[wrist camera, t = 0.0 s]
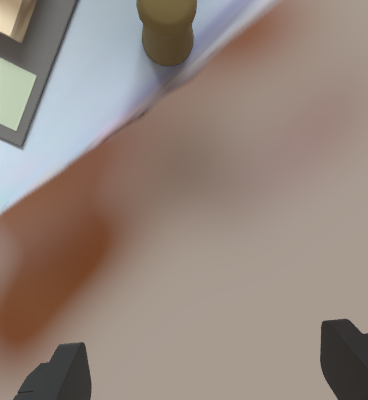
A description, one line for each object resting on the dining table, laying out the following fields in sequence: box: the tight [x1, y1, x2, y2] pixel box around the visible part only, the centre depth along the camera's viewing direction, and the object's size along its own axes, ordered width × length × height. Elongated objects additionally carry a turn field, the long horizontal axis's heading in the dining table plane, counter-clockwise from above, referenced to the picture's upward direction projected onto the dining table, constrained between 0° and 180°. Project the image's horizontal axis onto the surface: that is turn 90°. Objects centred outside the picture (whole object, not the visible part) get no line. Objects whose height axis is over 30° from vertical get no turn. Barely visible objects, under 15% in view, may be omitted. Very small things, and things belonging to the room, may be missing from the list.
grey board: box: [0, 0, 77, 146], centre depth 34 cm, size 20×12×1 cm, turn 154°
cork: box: [136, 0, 197, 66], centre depth 29 cm, size 6×6×11 cm
